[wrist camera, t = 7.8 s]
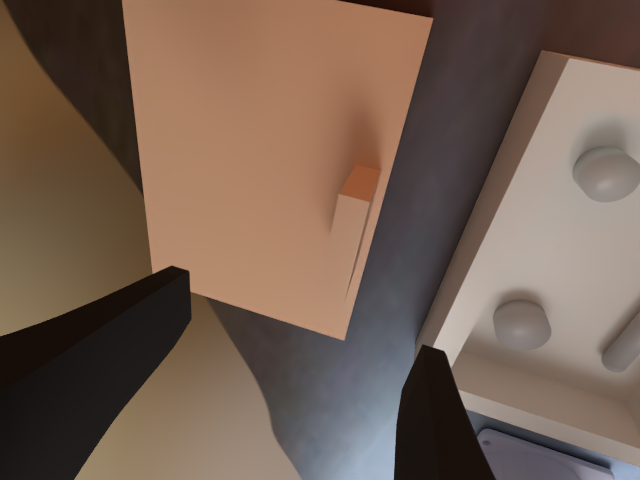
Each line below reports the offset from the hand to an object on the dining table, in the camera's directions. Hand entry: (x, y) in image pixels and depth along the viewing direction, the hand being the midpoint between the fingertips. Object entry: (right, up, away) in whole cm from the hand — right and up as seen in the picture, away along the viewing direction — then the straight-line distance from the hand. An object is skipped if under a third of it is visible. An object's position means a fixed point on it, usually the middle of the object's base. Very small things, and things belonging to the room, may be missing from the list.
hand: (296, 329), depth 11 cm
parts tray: (+13, +2, +6) cm, 15 cm away
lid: (-3, +6, +8) cm, 11 cm away
